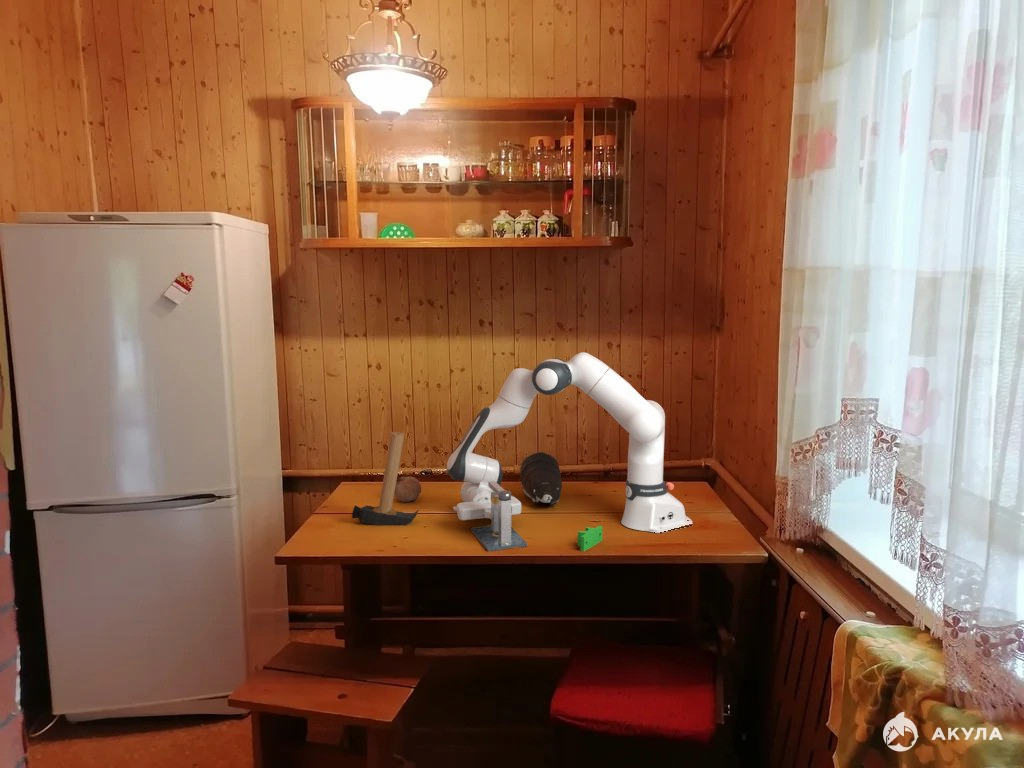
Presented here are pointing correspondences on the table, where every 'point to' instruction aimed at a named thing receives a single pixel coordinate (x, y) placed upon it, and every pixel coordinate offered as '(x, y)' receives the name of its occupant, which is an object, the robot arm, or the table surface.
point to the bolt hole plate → (491, 539)
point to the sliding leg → (494, 512)
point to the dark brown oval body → (541, 478)
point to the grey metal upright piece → (503, 512)
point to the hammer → (387, 492)
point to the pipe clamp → (589, 537)
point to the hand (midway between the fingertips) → (496, 516)
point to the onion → (407, 489)
